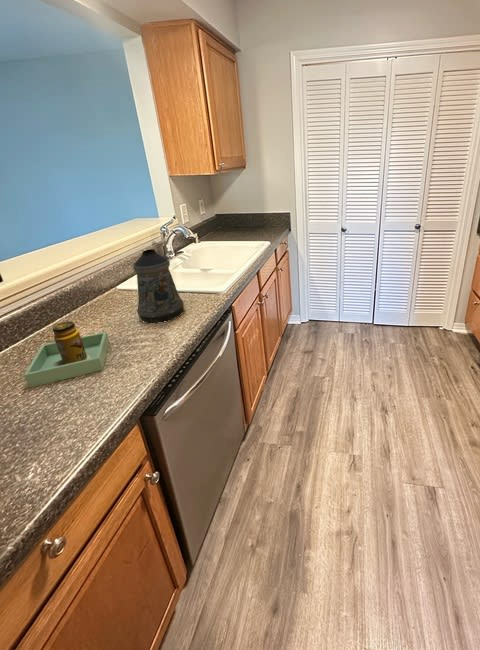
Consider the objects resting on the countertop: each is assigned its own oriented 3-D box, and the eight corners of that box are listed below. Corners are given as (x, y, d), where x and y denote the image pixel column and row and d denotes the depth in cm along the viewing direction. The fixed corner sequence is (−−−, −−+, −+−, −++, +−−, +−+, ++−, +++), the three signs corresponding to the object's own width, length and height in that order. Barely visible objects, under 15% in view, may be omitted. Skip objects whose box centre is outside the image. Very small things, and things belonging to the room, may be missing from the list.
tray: (29, 387, 87) (23, 375, 85) (46, 356, 101) (42, 344, 100) (102, 370, 93) (98, 358, 91) (109, 342, 107) (106, 331, 106)
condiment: (92, 358, 98) (81, 323, 93) (61, 373, 91) (46, 336, 87) (82, 351, 102) (70, 317, 97) (51, 364, 95) (37, 329, 91)
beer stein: (151, 328, 114) (134, 261, 105) (129, 313, 127) (112, 252, 117) (192, 312, 126) (180, 250, 116) (169, 299, 138) (156, 242, 128)
